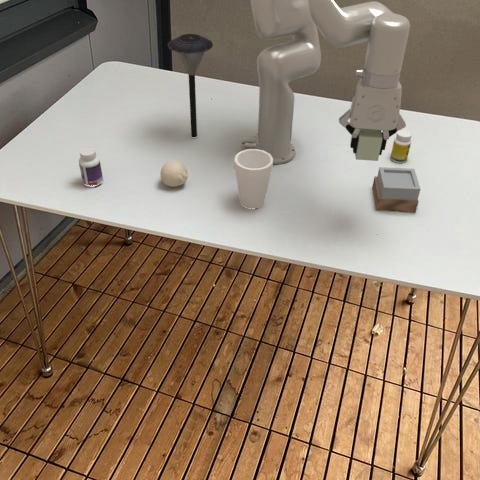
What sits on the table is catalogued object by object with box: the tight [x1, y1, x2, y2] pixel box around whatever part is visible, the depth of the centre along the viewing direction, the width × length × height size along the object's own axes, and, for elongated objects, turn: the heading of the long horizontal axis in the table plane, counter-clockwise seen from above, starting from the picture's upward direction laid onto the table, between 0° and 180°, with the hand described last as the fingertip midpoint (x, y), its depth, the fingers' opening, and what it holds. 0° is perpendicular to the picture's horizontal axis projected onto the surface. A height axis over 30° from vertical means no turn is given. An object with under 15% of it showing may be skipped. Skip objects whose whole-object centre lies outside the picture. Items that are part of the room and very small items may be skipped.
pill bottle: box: [78, 146, 104, 186], centre depth 150 cm, size 5×5×10 cm
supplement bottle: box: [389, 129, 413, 164], centre depth 162 cm, size 5×5×8 cm
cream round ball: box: [160, 160, 189, 188], centre depth 151 cm, size 7×7×7 cm
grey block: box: [376, 166, 421, 201], centre depth 146 cm, size 9×9×4 cm
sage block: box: [354, 129, 383, 162], centre depth 130 cm, size 5×5×6 cm
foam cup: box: [233, 148, 274, 210], centre depth 144 cm, size 10×9×13 cm
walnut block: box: [371, 176, 419, 214], centre depth 149 cm, size 10×10×4 cm
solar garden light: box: [167, 33, 214, 138], centre depth 162 cm, size 12×12×30 cm
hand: (366, 150), depth 132 cm, fingers closed on sage block, 5 cm apart
